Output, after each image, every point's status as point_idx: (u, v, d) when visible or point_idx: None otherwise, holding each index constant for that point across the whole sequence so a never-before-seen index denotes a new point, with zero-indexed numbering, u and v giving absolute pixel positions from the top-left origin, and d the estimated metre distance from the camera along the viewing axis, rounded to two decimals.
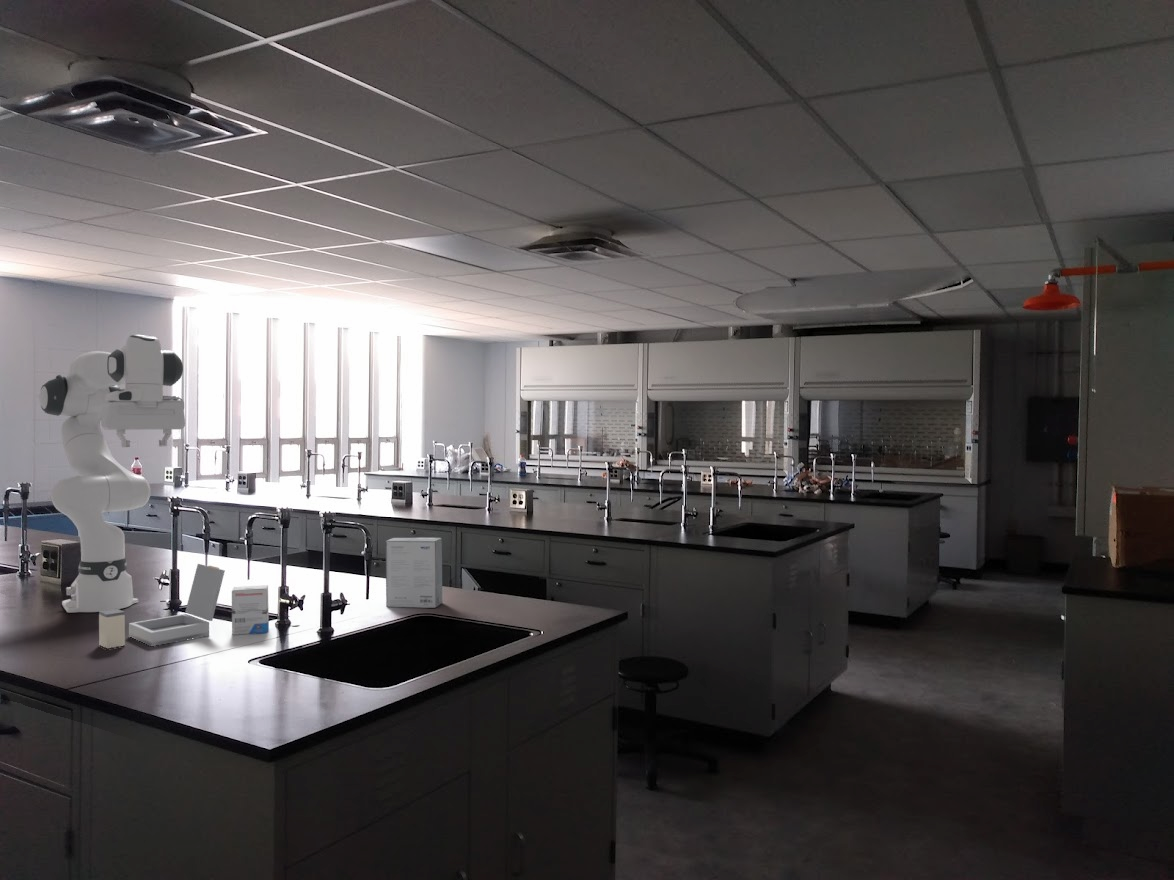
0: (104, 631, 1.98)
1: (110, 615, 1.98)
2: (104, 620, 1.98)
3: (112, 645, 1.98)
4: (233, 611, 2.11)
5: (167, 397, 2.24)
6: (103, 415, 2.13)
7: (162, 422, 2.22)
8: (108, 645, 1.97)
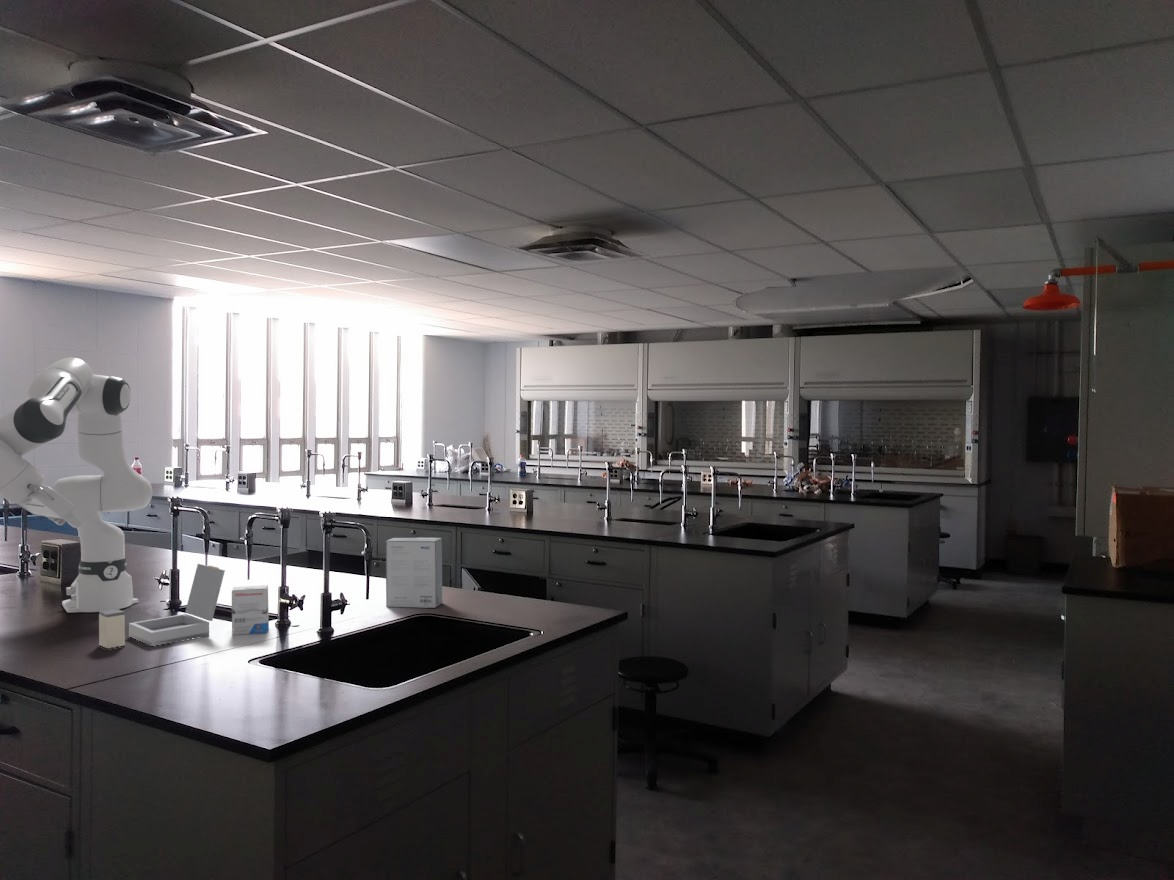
0: (104, 631, 1.98)
1: (110, 615, 1.98)
2: (104, 620, 1.98)
3: (112, 645, 1.98)
4: (233, 611, 2.11)
5: (30, 488, 1.82)
6: None
7: (47, 512, 1.86)
8: (108, 645, 1.97)
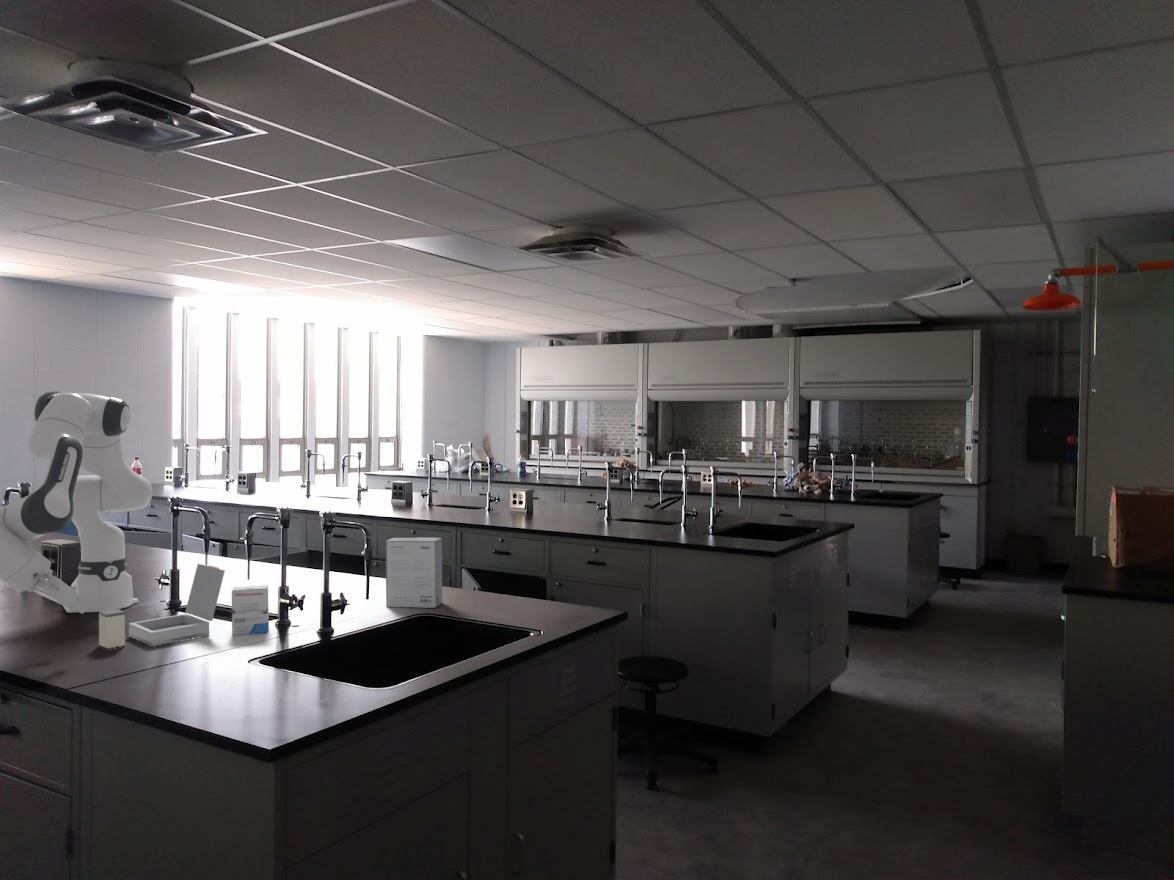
0: (104, 631, 1.98)
1: (110, 615, 1.98)
2: (104, 620, 1.98)
3: (112, 645, 1.98)
4: (233, 611, 2.11)
5: (36, 578, 1.83)
6: None
7: (54, 600, 1.87)
8: (108, 645, 1.97)
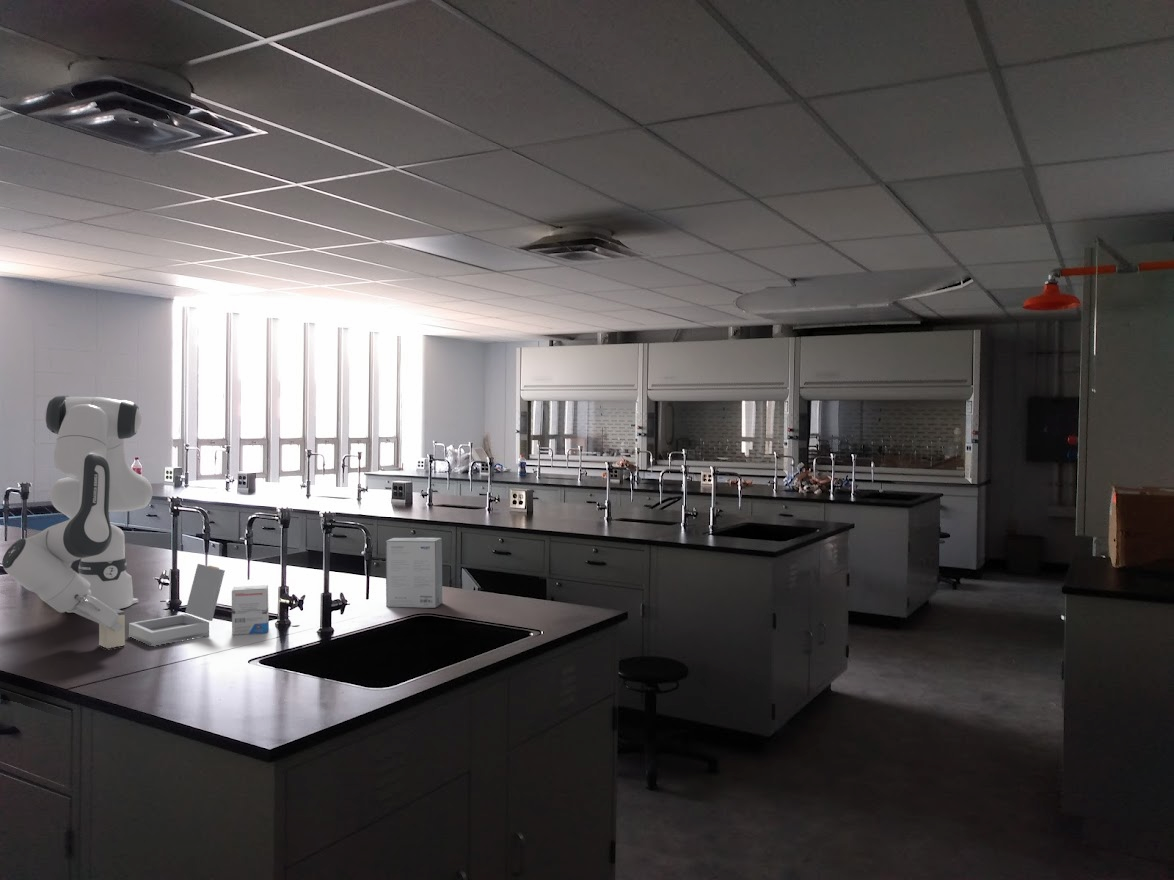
0: (104, 631, 1.98)
1: None
2: None
3: (112, 645, 1.98)
4: (233, 611, 2.11)
5: (77, 599, 1.89)
6: None
7: (93, 620, 1.94)
8: (108, 645, 1.97)
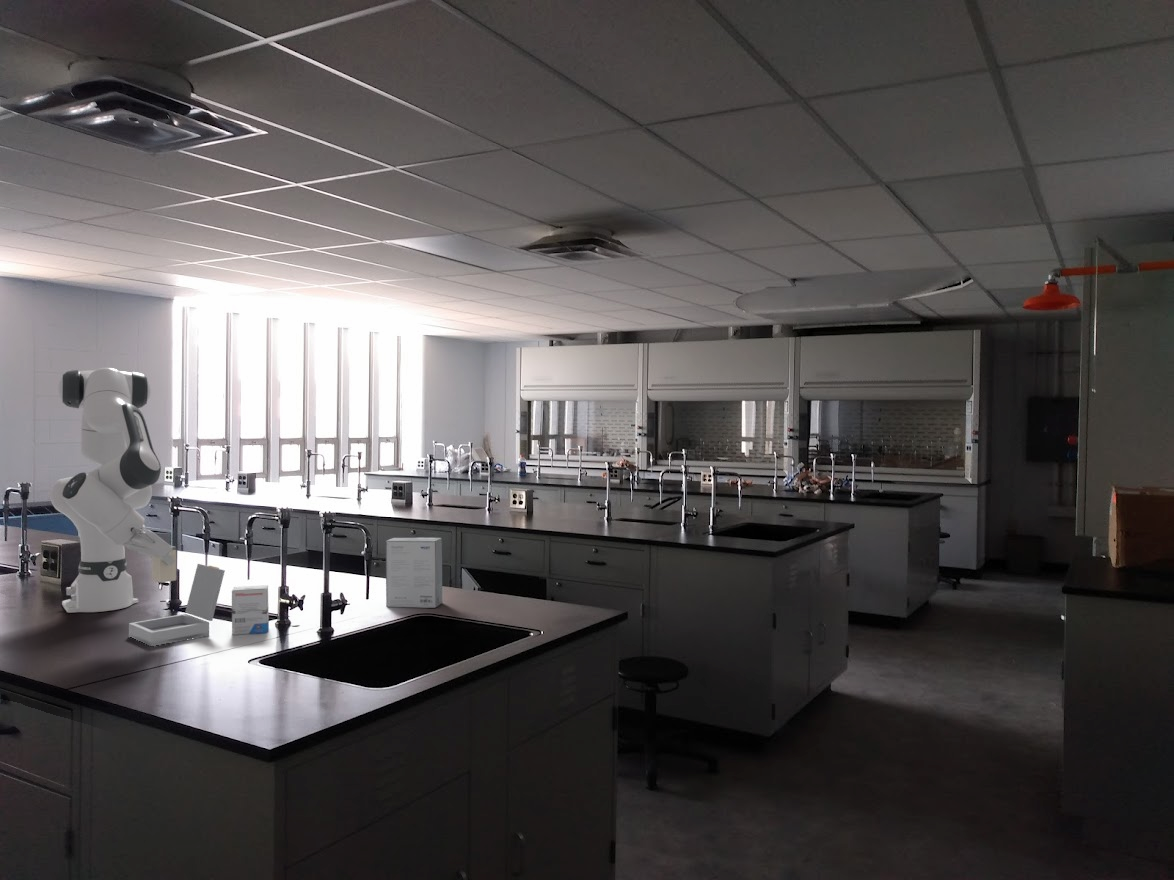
0: (157, 565, 2.06)
1: None
2: None
3: (164, 578, 2.06)
4: (233, 611, 2.11)
5: (133, 532, 1.97)
6: None
7: (147, 553, 2.02)
8: (161, 578, 2.05)
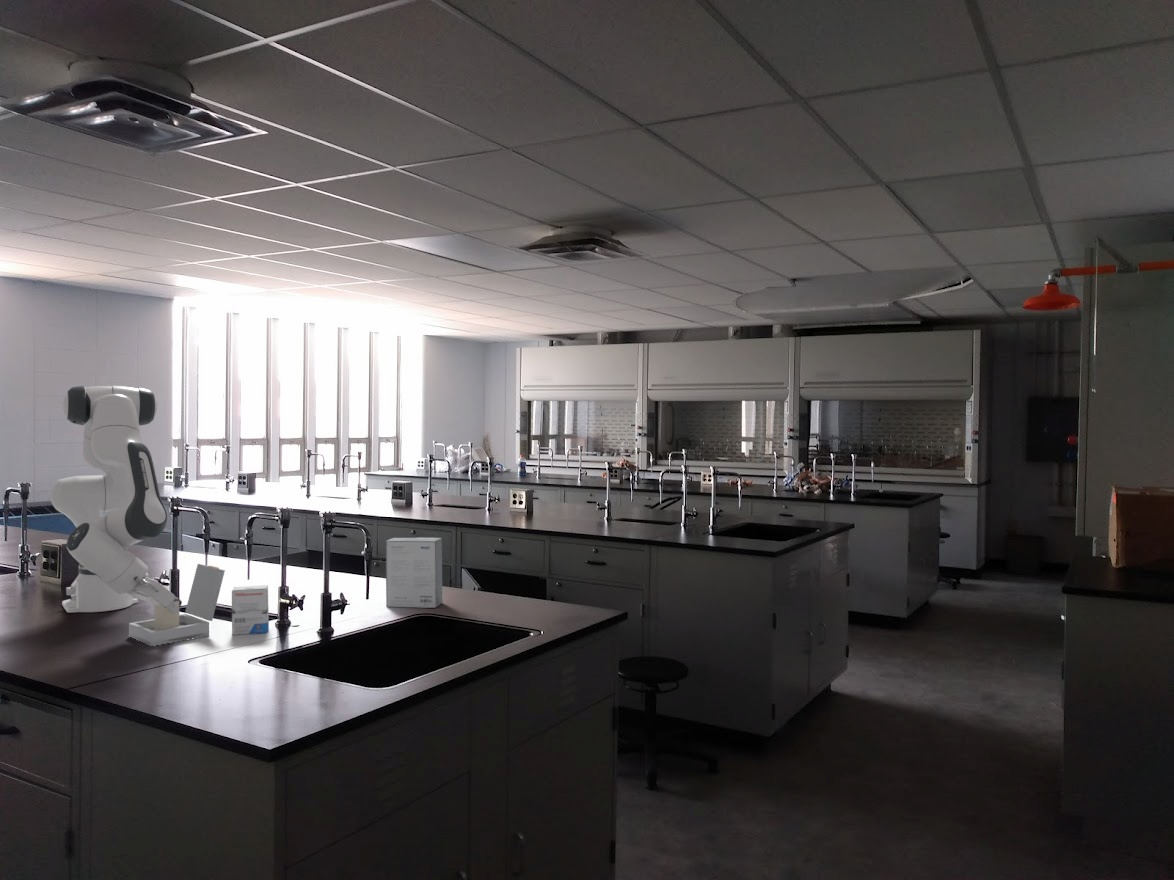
0: (160, 616, 2.07)
1: None
2: (160, 606, 2.07)
3: None
4: (233, 611, 2.11)
5: (137, 581, 1.98)
6: None
7: (151, 601, 2.02)
8: None
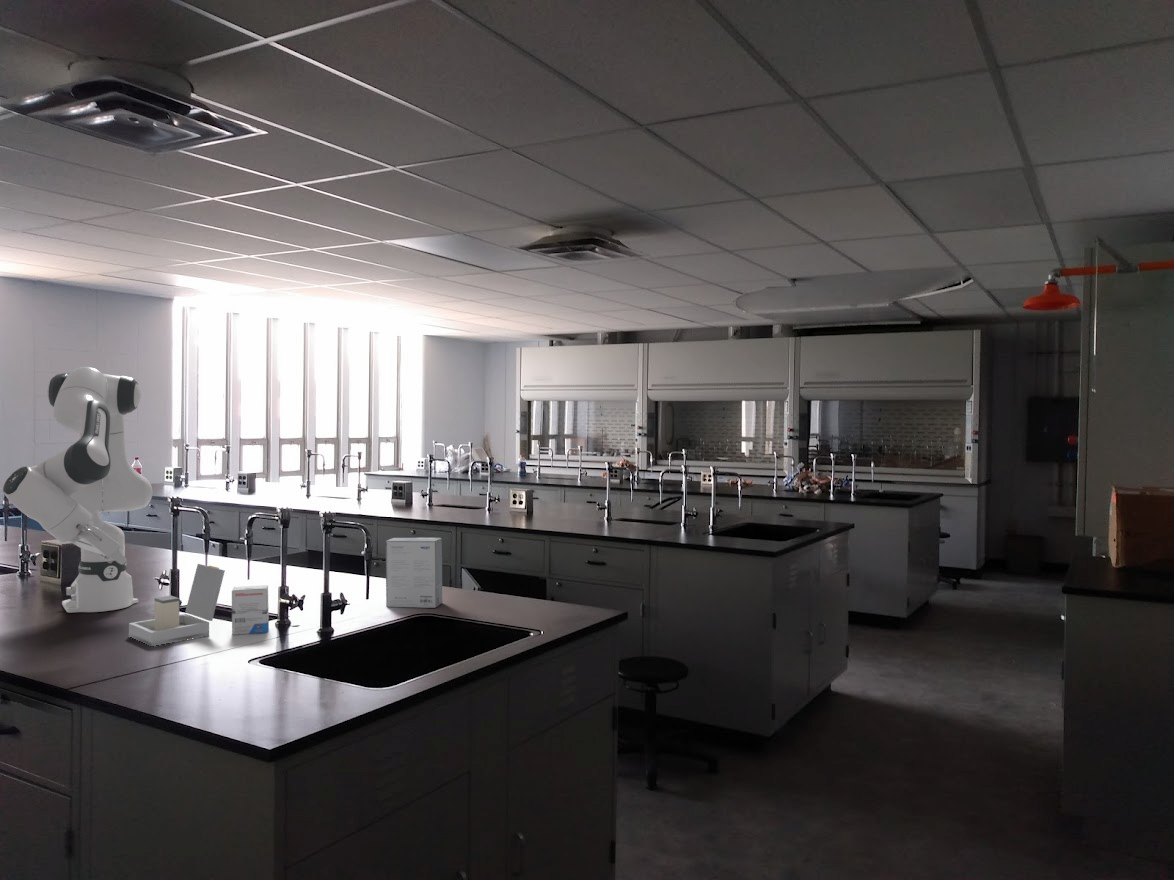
0: (160, 616, 2.07)
1: (166, 601, 2.06)
2: (160, 606, 2.07)
3: None
4: (233, 611, 2.11)
5: (79, 528, 1.89)
6: None
7: (95, 550, 1.93)
8: None
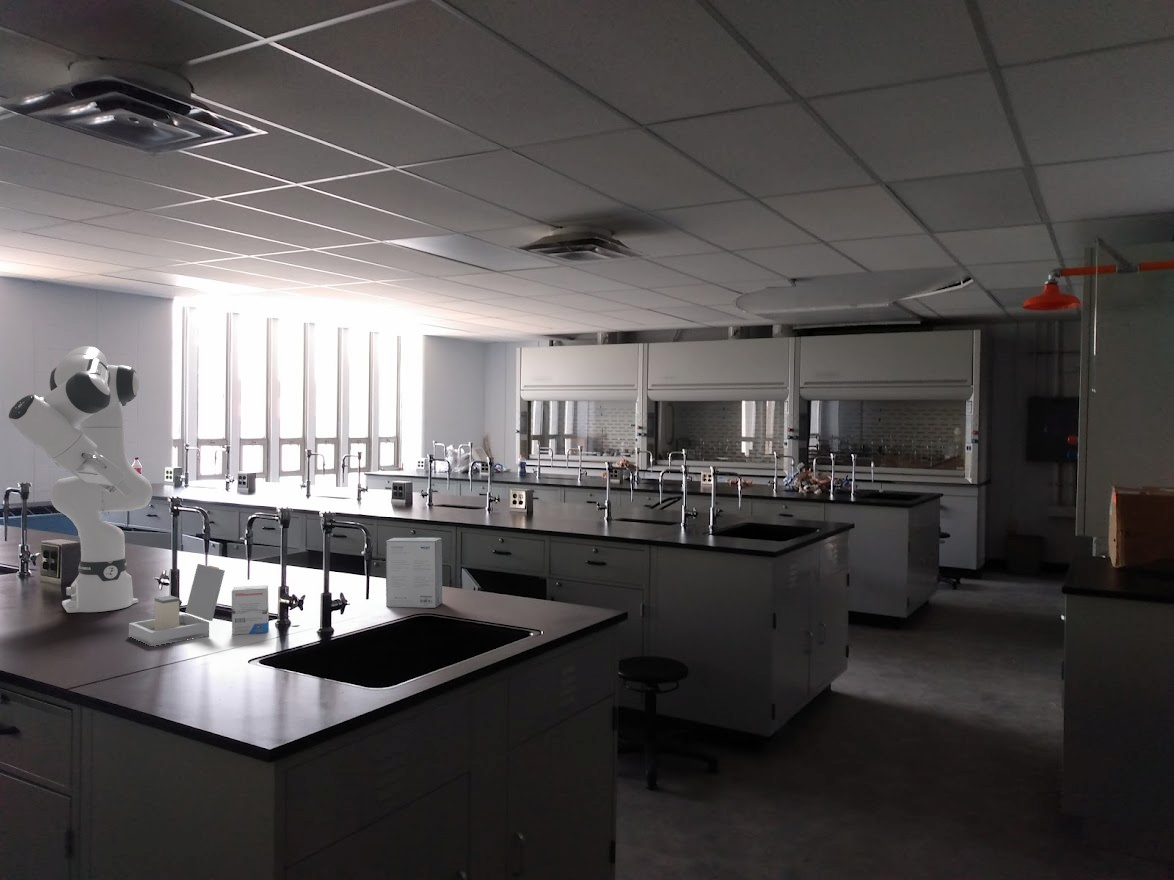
0: (160, 616, 2.07)
1: (166, 601, 2.06)
2: (160, 606, 2.07)
3: None
4: (233, 611, 2.11)
5: (84, 457, 1.91)
6: None
7: (100, 480, 1.95)
8: None
